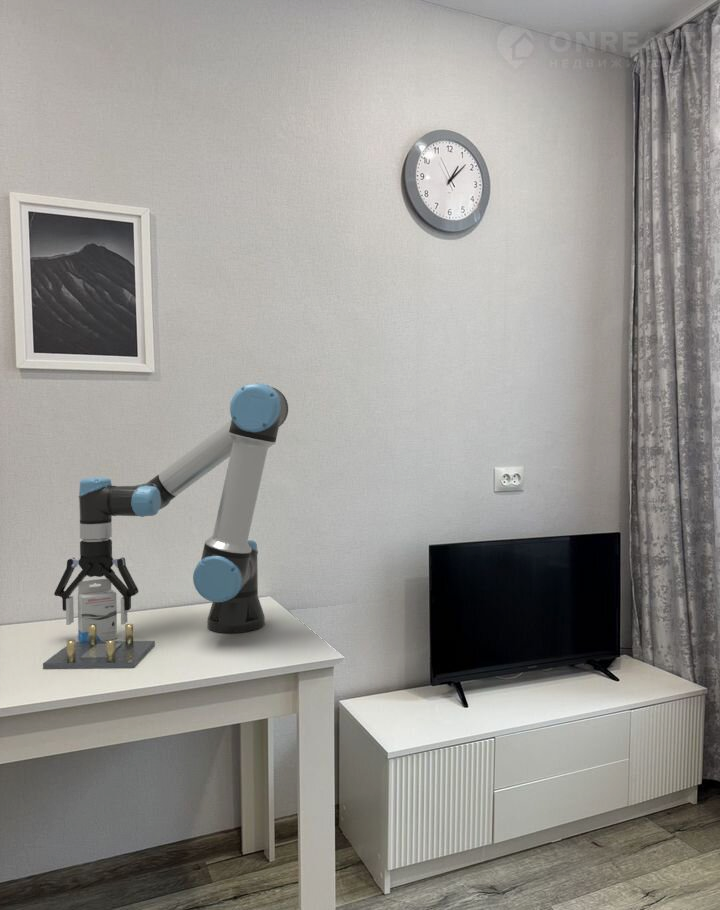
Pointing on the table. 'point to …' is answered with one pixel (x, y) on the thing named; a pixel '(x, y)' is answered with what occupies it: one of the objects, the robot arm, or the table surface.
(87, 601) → the ink box
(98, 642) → the plate
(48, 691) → the table surface
